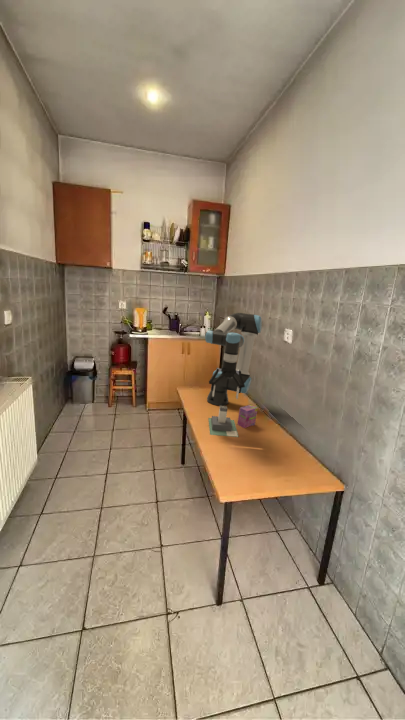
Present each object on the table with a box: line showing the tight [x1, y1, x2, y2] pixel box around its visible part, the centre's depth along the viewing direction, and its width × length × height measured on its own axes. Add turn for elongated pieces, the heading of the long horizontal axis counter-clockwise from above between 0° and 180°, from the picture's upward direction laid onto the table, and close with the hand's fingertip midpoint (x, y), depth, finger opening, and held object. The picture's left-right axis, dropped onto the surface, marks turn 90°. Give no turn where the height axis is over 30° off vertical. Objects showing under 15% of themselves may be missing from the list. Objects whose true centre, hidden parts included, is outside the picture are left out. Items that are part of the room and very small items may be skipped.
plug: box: [217, 405, 228, 423], centre depth 172 cm, size 4×4×12 cm
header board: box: [208, 415, 240, 438], centre depth 173 cm, size 21×16×4 cm
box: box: [237, 404, 259, 429], centre depth 179 cm, size 10×6×12 cm, turn 131°
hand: (224, 397), depth 169 cm, fingers open, 13 cm apart
